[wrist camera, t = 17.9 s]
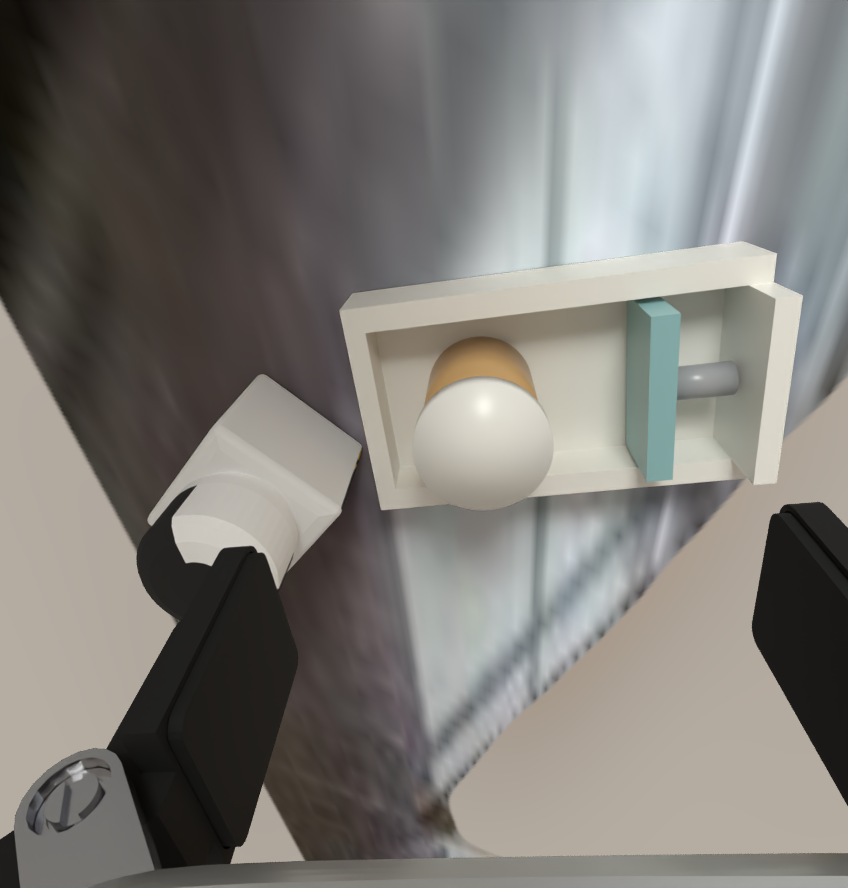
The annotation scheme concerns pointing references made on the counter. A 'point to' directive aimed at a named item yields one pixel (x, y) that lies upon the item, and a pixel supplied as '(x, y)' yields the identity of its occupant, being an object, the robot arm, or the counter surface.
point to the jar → (482, 427)
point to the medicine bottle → (248, 493)
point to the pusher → (662, 384)
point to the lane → (587, 363)
